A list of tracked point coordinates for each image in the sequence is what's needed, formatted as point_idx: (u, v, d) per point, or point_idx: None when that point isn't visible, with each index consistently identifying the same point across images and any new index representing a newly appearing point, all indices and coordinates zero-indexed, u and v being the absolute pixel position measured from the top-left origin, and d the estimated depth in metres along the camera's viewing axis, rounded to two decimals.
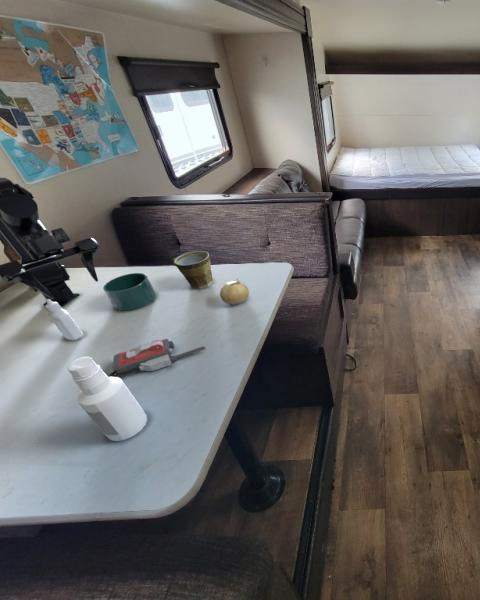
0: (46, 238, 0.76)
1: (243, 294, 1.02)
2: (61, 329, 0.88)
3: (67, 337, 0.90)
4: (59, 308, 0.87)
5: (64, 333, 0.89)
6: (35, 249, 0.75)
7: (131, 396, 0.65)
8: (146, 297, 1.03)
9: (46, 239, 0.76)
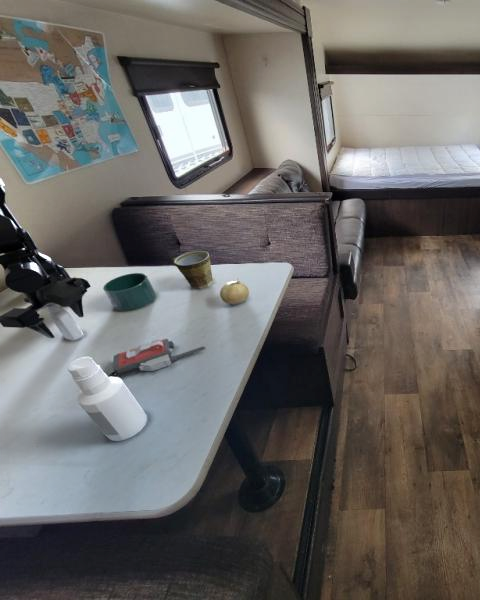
0: (75, 292, 0.84)
1: (243, 294, 1.02)
2: (61, 329, 0.88)
3: (67, 337, 0.90)
4: (60, 308, 0.87)
5: (64, 333, 0.89)
6: (64, 302, 0.82)
7: (131, 396, 0.65)
8: (146, 297, 1.03)
9: (75, 293, 0.84)
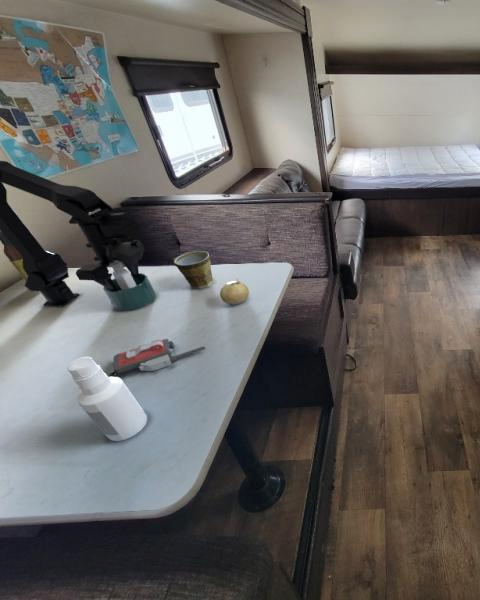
0: (137, 252, 0.96)
1: (243, 294, 1.02)
2: (123, 286, 1.00)
3: None
4: (122, 267, 0.99)
5: None
6: (129, 260, 0.94)
7: (131, 396, 0.65)
8: (146, 297, 1.03)
9: (137, 253, 0.96)
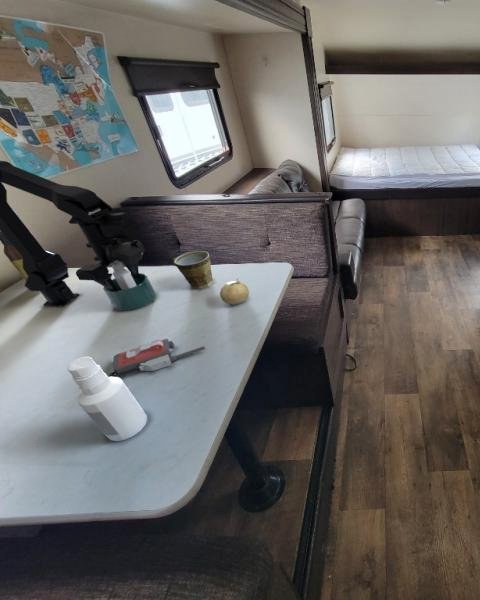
0: (137, 252, 0.96)
1: (243, 294, 1.02)
2: (123, 286, 1.00)
3: None
4: (122, 267, 0.99)
5: None
6: (130, 261, 0.94)
7: (131, 396, 0.65)
8: (146, 297, 1.03)
9: (137, 253, 0.96)
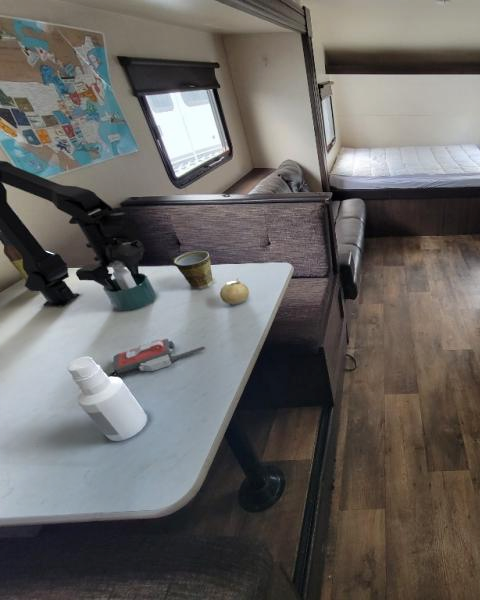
0: (138, 252, 0.96)
1: (243, 294, 1.02)
2: (123, 286, 1.00)
3: None
4: (122, 267, 0.99)
5: None
6: (130, 261, 0.94)
7: (131, 396, 0.65)
8: (146, 297, 1.03)
9: (137, 253, 0.96)
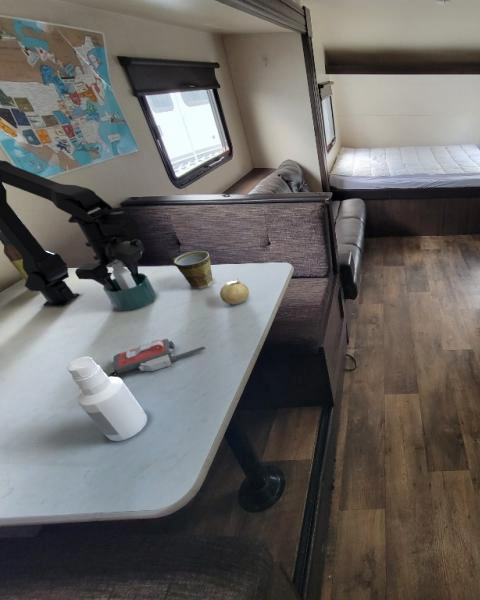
0: (137, 251, 0.96)
1: (243, 294, 1.02)
2: (122, 285, 1.00)
3: None
4: (122, 266, 0.99)
5: (124, 289, 1.01)
6: (129, 260, 0.94)
7: (131, 396, 0.65)
8: (146, 297, 1.03)
9: (137, 252, 0.96)
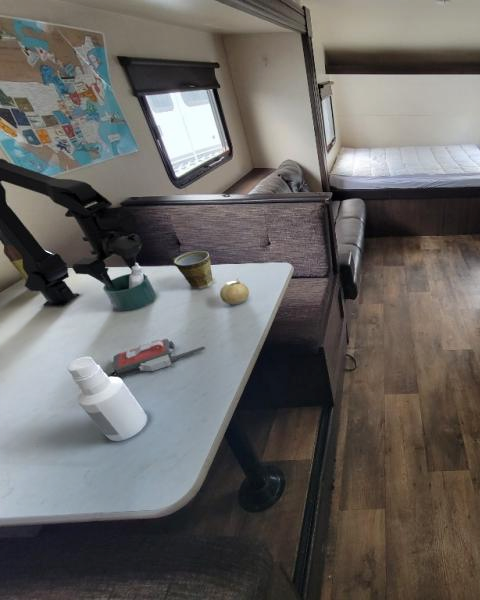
0: (135, 246, 0.95)
1: (243, 294, 1.02)
2: None
3: None
4: (139, 273, 1.01)
5: None
6: (127, 254, 0.93)
7: (131, 396, 0.65)
8: (146, 297, 1.03)
9: (135, 246, 0.95)
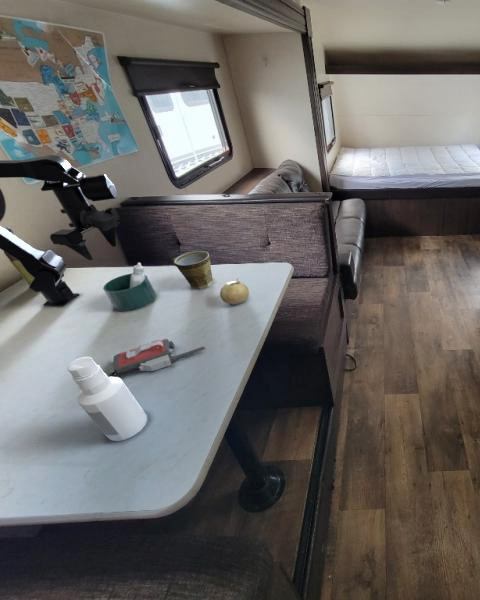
0: (112, 219, 0.98)
1: (243, 294, 1.02)
2: (130, 287, 1.02)
3: None
4: (141, 273, 1.02)
5: None
6: (103, 226, 0.97)
7: (131, 396, 0.65)
8: (146, 297, 1.03)
9: (111, 219, 0.98)
